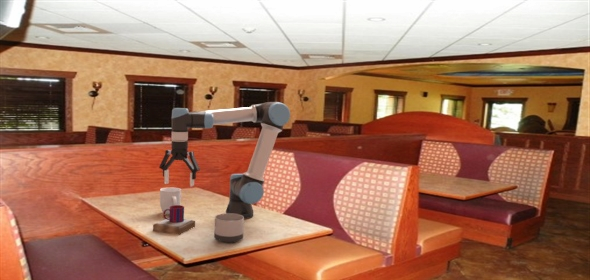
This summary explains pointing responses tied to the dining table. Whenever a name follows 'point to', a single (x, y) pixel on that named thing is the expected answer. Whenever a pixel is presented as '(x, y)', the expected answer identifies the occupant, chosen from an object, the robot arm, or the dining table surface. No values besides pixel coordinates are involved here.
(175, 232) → the stand
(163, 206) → the mug
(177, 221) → the cup
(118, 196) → the dining table surface
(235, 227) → the planter
